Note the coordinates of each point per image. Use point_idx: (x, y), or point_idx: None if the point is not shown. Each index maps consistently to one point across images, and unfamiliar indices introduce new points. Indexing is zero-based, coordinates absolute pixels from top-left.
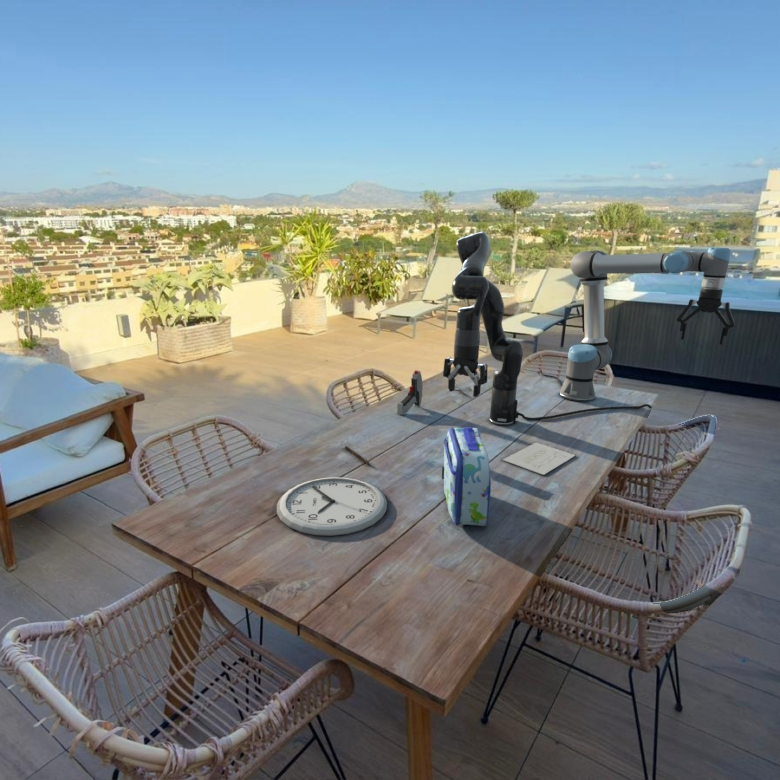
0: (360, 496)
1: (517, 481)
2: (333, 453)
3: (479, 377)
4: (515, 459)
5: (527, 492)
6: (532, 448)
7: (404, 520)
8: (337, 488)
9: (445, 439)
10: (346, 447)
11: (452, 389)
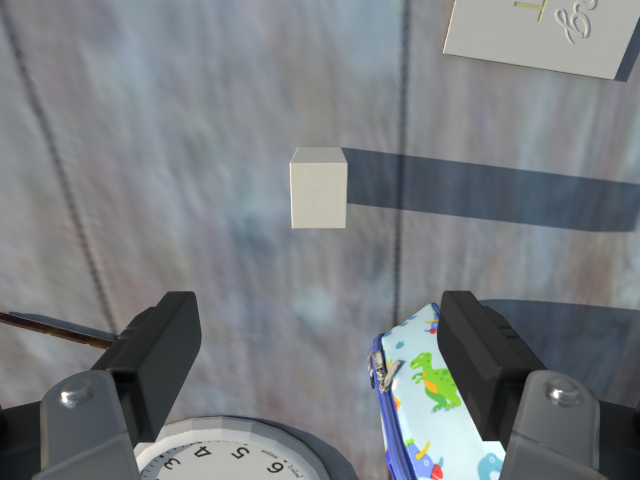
0: (251, 465)
1: (532, 178)
2: (9, 349)
3: (598, 460)
4: (489, 13)
5: (573, 223)
6: None
7: (367, 461)
8: (191, 468)
9: (393, 472)
10: (2, 321)
11: (193, 331)
